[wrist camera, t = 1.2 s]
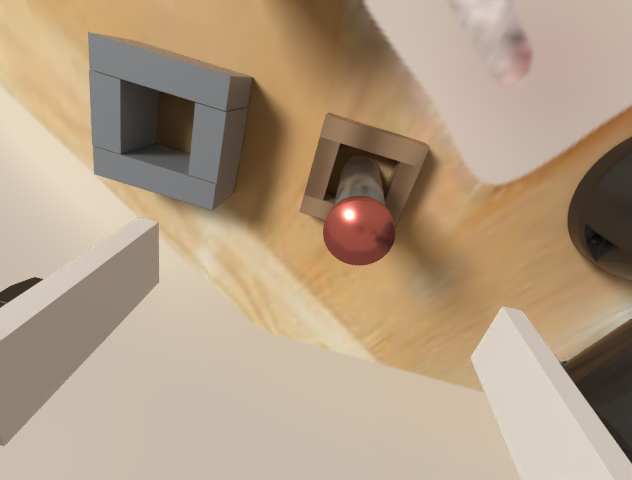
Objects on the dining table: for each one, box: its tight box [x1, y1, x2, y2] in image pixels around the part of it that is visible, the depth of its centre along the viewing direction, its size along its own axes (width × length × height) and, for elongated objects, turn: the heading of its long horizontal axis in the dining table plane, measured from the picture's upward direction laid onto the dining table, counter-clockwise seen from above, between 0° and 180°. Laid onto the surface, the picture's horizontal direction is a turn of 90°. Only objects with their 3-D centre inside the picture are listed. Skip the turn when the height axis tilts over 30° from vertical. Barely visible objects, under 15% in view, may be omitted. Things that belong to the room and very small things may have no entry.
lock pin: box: [323, 156, 395, 265], centre depth 28 cm, size 5×5×15 cm
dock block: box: [88, 32, 253, 210], centre depth 32 cm, size 12×12×6 cm
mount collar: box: [300, 113, 430, 228], centre depth 33 cm, size 10×10×2 cm
